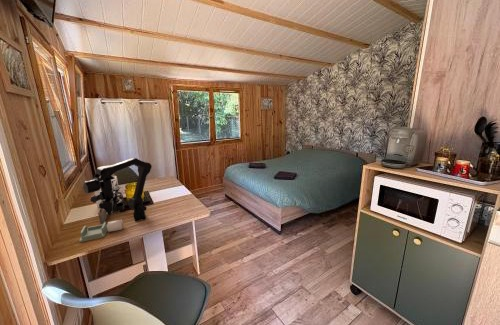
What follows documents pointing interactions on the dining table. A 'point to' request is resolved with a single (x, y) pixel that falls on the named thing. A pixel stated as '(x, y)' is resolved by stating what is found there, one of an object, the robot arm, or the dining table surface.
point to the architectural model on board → (102, 215)
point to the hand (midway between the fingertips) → (111, 212)
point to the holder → (93, 232)
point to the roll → (115, 225)
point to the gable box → (112, 186)
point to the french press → (118, 205)
